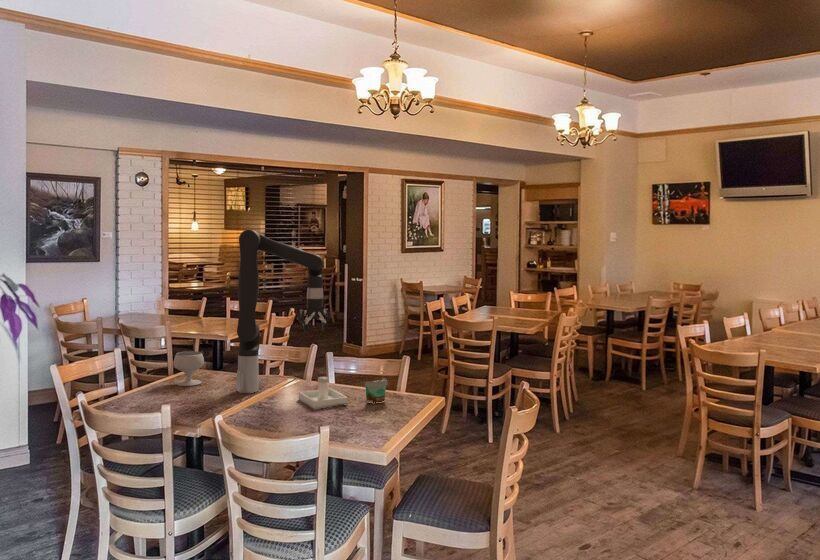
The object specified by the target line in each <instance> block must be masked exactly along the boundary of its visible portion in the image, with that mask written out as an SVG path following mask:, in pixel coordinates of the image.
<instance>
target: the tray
mask: <svg viewBox="0 0 820 560" xmlns="http://www.w3.org/2000/svg"><path fill="white" fill-rule="evenodd" d="M348 398H349V397H348V396H346V395H345V394H342V393H340V392H339V391H337V390H335V389H333V388H328V399H326V400H318V389H316V390H306V391H301V392H300V391H299V392H298V401H300V402H302V404H305V405H306V406H308V407H309V408H310V409H312V410H321V408H323V409H327V408H326V407H330V408H333V407H332V406H338V405H344V404H348V403H349V402H348ZM348 405H349V404H348ZM338 407H339V406H338Z"/></svg>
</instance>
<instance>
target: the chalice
mask: <svg viewBox="0 0 820 560" xmlns="http://www.w3.org/2000/svg"><path fill="white" fill-rule="evenodd" d="M204 364H205V358H204V356H203V353H202V352H201V351H198V350H197V351H193V350H191V351H190V350H189V351H187V350H186V351H179V352H177V353H175V355H174V359H173V366H174V367H175V369H176V370H179V371H181V372H183V373H184V374H185V375H186V379H184V380H179V381H177V382H176V383H175V385H176V386H180V387H193V386H194V387H195V386H197V385H201V384H203V381H201V380H198V379H192V375H193V374H194V373H195V372H197V371H198V370H199V369H202V367H203V366H204Z"/></svg>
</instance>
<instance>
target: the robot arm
mask: <svg viewBox="0 0 820 560" xmlns="http://www.w3.org/2000/svg"><path fill="white" fill-rule="evenodd" d="M238 245H239V257H240V260H239V261H240V262H239V270H238V283H237V284H238V289H237V290H238V293H237V295H238V320H237V327H236V334H237V337H238V338H239V344H238V349H237V370H236V391H237V392H238V393H239V394H254V392H255V393H257V391H258V392H259V361H260V360H259V358H260V357H259V351H260V333H261V332H260V326H259V324H258V322H256V310H257V309H256V308H257V305H258V300H259V293H260V275H259V268H258V251H260V252H261V251H262V252H265V253H268V254H270V255H273V256H275V257H277V258H280V259H283V260H285V261H287V262H291V263H292V264H293V263H294V264H297V265H300V266H303V267H304V268H307V273H308V276H307V291H306V309H305V310H303V309H300V311H299V323H300V324H303V331H304V332H305V333H308V332H309V322H310V321H311V320H315V319H317V320H320V321H321V331H322V332H325V331H326V329H327V323H330V321H331V318H330V309H328V308H324V289H323V287H324V286H323V285H324V281H323V280H324V279H323V265H324V261H323V258H322V256H320V255H319V254H314V253H311V252H308V251H305V250H303V249H302V248H299V247H296V246H293V245H289V244H286V243H283V242H279V241H277V240H273V239H270V238H268V237H266V236H265V235H263V234H261V233H259V232H258V231H256V230H254V229H244V230H243V231H241V232H240V234H239V236H238ZM323 314H325V315H324V316H325V317H324V316H323ZM305 315H306V317H305Z"/></svg>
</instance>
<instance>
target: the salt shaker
mask: <svg viewBox="0 0 820 560" xmlns="http://www.w3.org/2000/svg"><path fill="white" fill-rule="evenodd" d="M329 380H330V379H329V377H328V376H319V377H318V378H317V390H318V400H326V399H328V389H329V384H330V383H329V382H330V381H329Z"/></svg>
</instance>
